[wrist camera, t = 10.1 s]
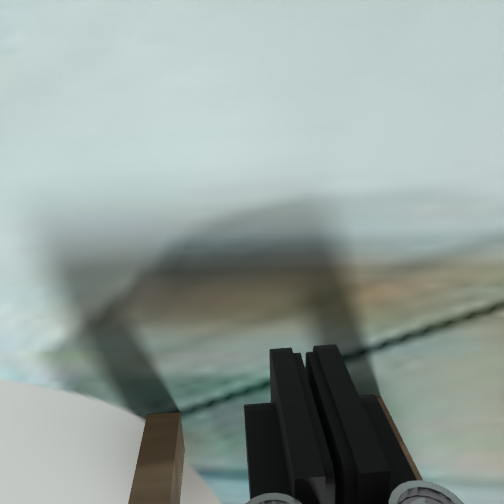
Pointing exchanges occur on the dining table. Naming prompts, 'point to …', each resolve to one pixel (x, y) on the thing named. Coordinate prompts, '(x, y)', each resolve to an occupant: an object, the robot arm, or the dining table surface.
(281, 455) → the robot arm
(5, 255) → the dining table surface
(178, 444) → the bridge
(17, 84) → the dining table surface
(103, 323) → the dining table surface
